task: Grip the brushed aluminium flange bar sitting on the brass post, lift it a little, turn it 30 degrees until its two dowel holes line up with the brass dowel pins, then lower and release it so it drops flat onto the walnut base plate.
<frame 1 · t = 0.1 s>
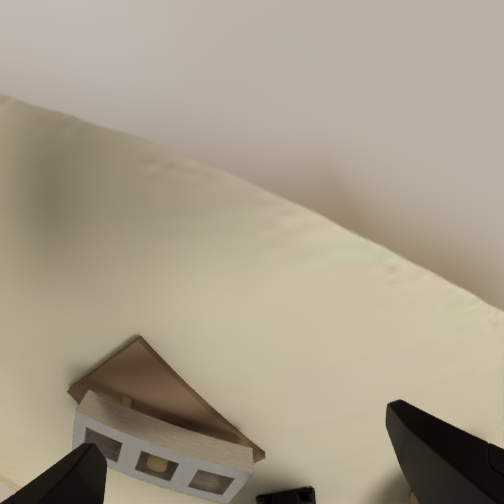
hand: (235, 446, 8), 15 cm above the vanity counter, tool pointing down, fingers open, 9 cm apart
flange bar: (161, 443, 23), point 2 cm above the vanity counter, touching post stand
post stand: (166, 426, 25), on the vanity counter
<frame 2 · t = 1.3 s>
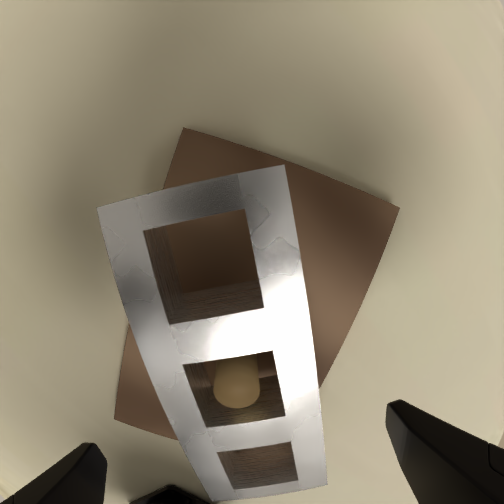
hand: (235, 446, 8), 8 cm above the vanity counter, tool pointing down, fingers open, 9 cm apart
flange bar: (237, 352, 13), point 2 cm above the vanity counter, touching post stand
post stand: (237, 328, 15), on the vanity counter
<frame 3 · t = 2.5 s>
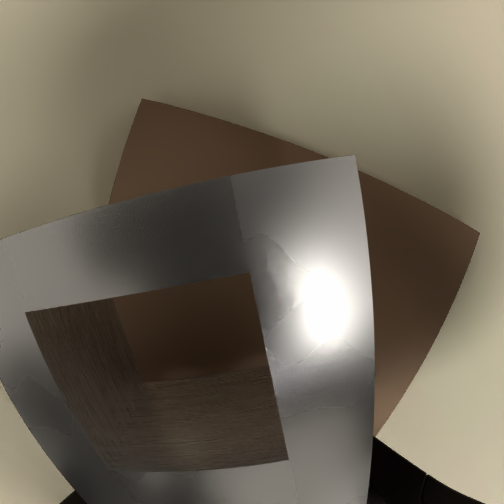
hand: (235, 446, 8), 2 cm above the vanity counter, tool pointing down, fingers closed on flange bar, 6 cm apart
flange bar: (235, 458, 7), point 2 cm above the vanity counter, touching gripper, post stand
post stand: (235, 408, 10), on the vanity counter
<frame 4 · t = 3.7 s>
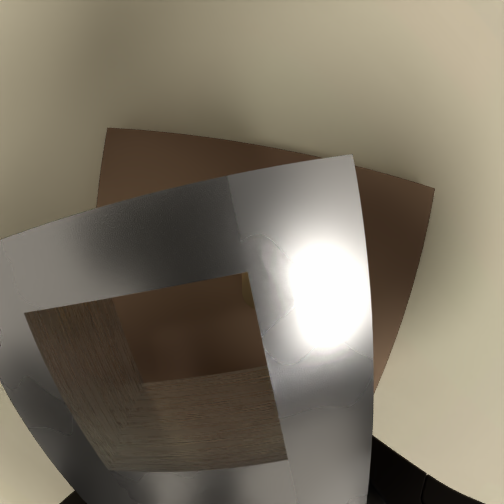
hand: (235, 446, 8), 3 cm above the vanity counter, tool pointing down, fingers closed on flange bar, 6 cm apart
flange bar: (235, 458, 7), point 4 cm above the vanity counter, touching gripper
post stand: (235, 384, 11), on the vanity counter
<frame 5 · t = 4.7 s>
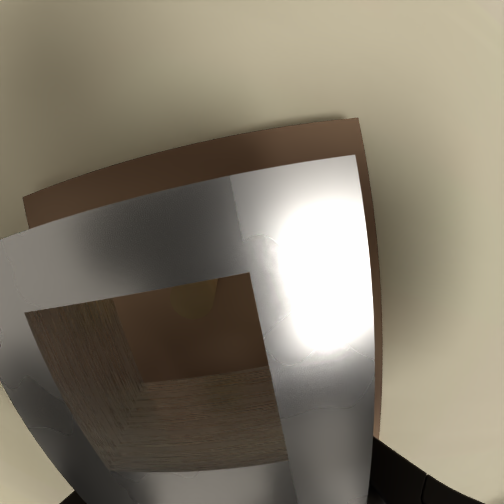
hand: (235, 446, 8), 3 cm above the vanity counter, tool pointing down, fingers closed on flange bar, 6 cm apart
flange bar: (235, 458, 7), point 3 cm above the vanity counter, touching gripper
post stand: (234, 392, 10), on the vanity counter
when the fingers open (1 cm above the vanity counter, at t = 5.3 s): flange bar stays where it is, resting on post stand.
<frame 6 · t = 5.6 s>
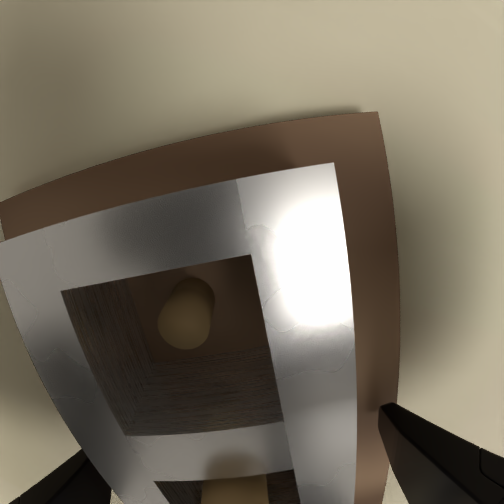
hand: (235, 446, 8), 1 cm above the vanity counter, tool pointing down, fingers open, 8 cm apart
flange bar: (236, 436, 8), point 1 cm above the vanity counter, touching post stand
post stand: (235, 417, 9), on the vanity counter
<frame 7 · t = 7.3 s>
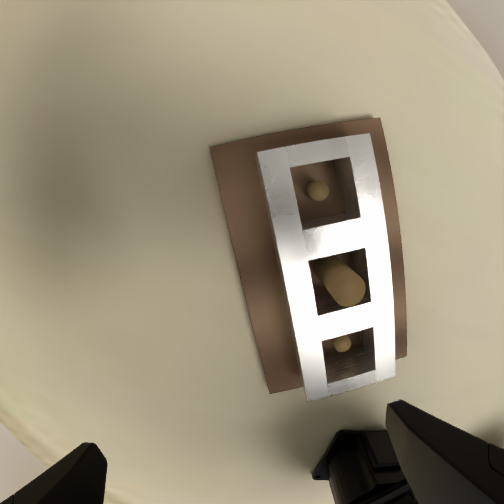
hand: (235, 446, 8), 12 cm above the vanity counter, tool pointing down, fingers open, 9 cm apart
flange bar: (327, 267, 18), point 1 cm above the vanity counter, touching post stand
post stand: (323, 263, 19), on the vanity counter
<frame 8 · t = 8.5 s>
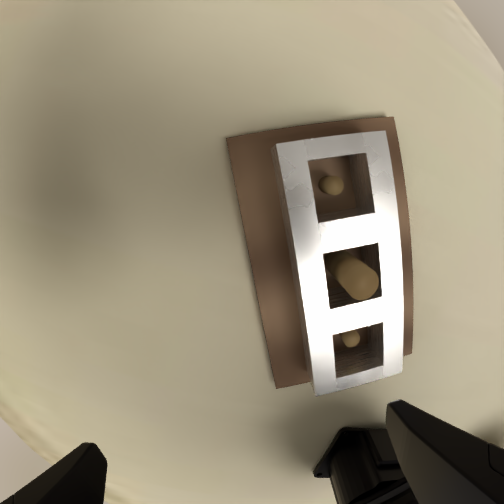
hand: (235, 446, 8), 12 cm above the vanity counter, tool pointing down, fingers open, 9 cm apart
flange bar: (338, 262, 18), point 1 cm above the vanity counter, touching post stand
post stand: (334, 258, 19), on the vanity counter
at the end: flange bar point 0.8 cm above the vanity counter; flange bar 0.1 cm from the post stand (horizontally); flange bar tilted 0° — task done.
